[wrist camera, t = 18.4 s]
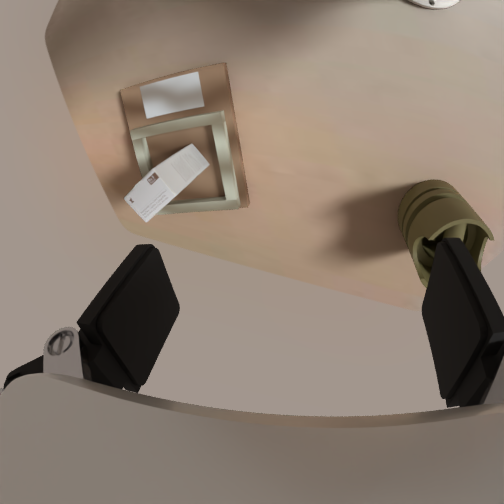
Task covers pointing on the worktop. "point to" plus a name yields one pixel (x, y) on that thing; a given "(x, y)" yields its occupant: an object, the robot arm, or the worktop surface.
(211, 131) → the framed base plate
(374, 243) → the worktop surface
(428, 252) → the piston
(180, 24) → the worktop surface
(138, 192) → the skincare box
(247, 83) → the worktop surface
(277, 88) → the worktop surface
